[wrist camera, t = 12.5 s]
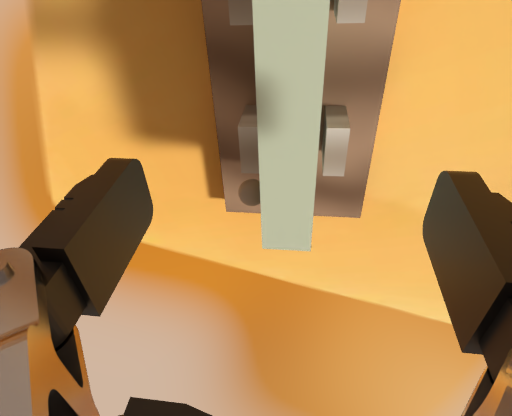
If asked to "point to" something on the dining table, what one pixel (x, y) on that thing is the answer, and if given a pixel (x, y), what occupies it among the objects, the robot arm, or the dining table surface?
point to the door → (287, 117)
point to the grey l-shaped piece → (333, 101)
